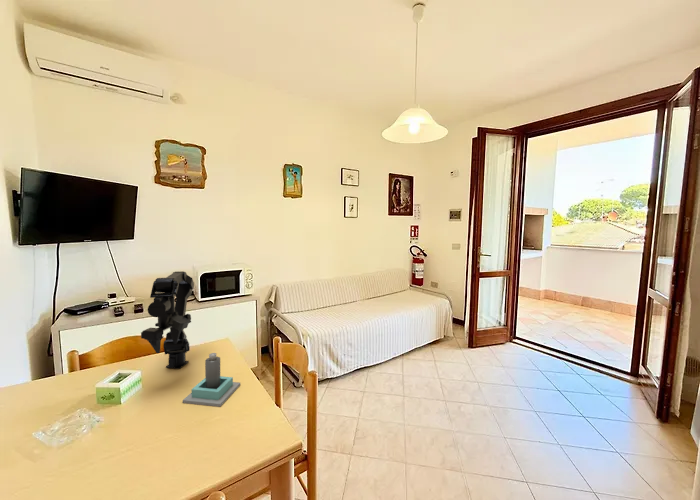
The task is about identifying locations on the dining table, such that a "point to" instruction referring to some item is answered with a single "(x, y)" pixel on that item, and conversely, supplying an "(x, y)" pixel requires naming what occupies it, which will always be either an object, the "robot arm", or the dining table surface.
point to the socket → (212, 393)
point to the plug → (212, 371)
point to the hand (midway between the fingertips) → (167, 348)
